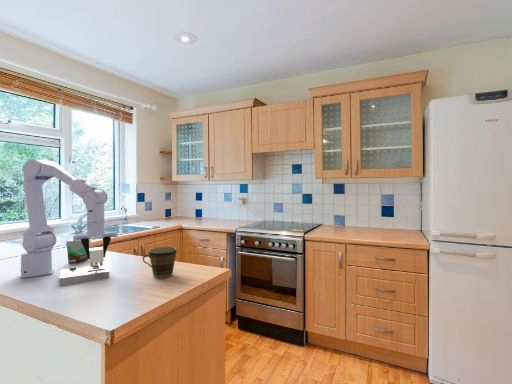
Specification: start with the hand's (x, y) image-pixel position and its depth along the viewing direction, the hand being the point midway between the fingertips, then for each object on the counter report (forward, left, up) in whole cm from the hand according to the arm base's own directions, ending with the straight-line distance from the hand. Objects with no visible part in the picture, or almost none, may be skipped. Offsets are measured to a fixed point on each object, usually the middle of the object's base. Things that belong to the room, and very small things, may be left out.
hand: (96, 257), depth 108 cm
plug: (0, 0, -3) cm, 3 cm away
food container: (-4, +30, -7) cm, 31 cm away
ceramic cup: (+20, -14, -7) cm, 25 cm away
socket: (-4, +1, -7) cm, 8 cm away
